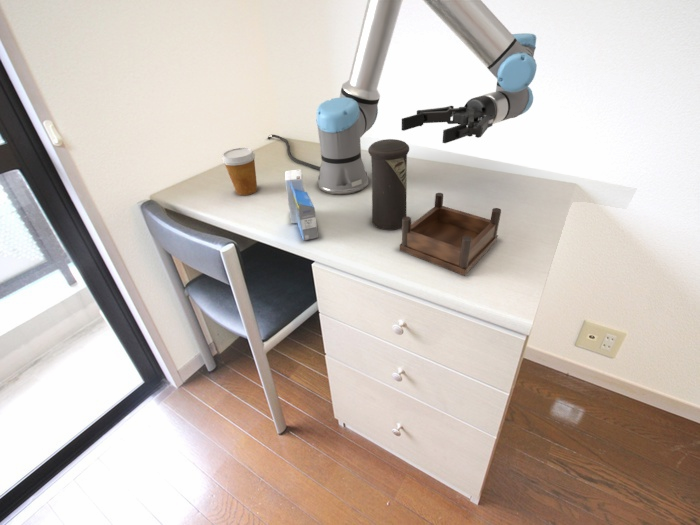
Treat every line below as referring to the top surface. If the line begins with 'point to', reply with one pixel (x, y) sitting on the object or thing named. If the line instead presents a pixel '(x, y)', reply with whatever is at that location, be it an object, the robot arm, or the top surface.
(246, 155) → the disposable coffee cup
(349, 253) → the top surface
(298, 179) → the cosmetic box
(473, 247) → the wooden tray
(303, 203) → the tape cartridge
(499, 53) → the robot arm
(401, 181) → the container
